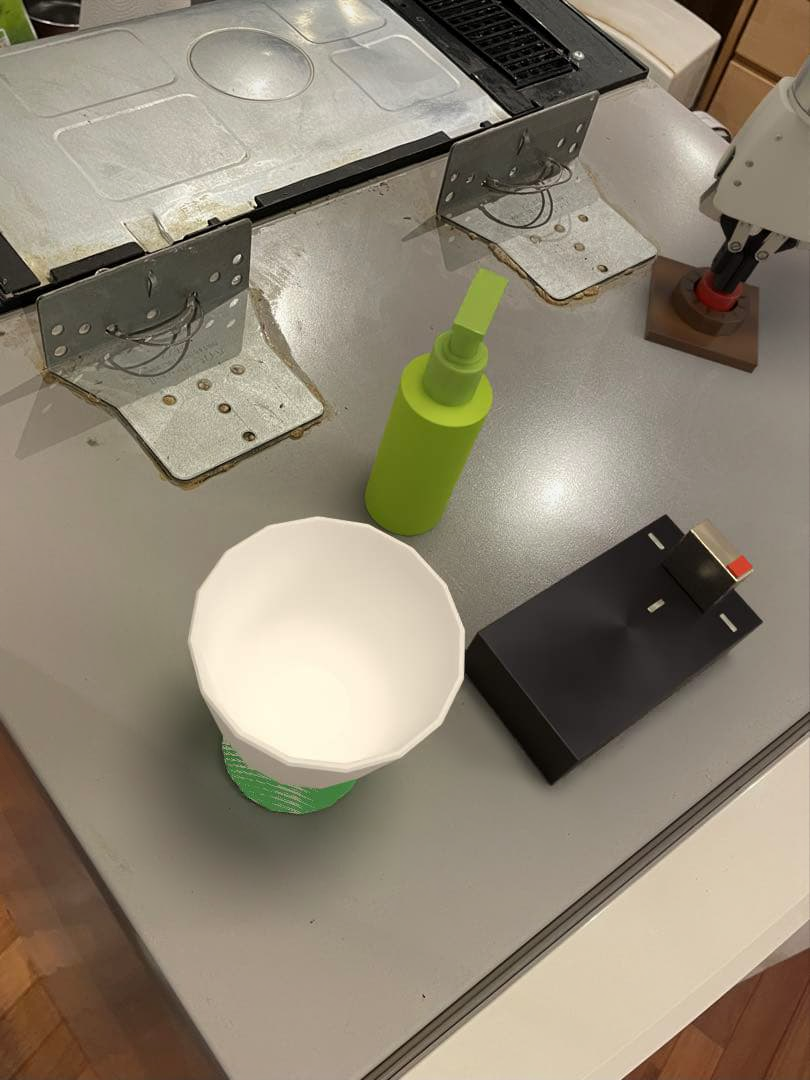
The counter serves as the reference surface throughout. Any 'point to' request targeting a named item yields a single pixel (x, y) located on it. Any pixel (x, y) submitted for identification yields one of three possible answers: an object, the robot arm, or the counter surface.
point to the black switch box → (600, 650)
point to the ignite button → (716, 294)
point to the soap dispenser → (435, 418)
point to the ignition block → (701, 317)
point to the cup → (323, 656)
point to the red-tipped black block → (707, 565)
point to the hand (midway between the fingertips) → (722, 280)
